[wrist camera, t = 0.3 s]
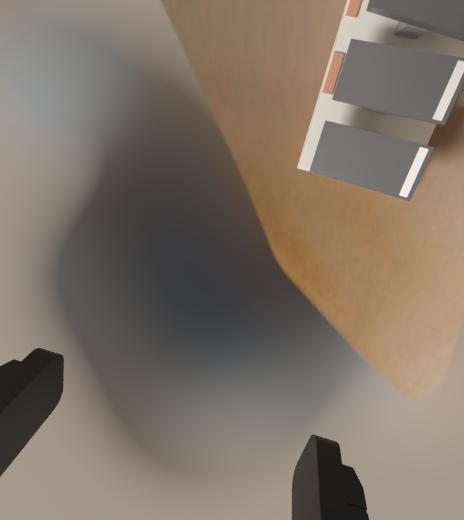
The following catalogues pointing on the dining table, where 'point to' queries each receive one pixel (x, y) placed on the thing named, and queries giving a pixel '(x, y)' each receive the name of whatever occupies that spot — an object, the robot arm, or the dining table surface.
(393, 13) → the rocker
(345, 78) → the middle rocker
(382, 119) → the switch panel
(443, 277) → the dining table surface
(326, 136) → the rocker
